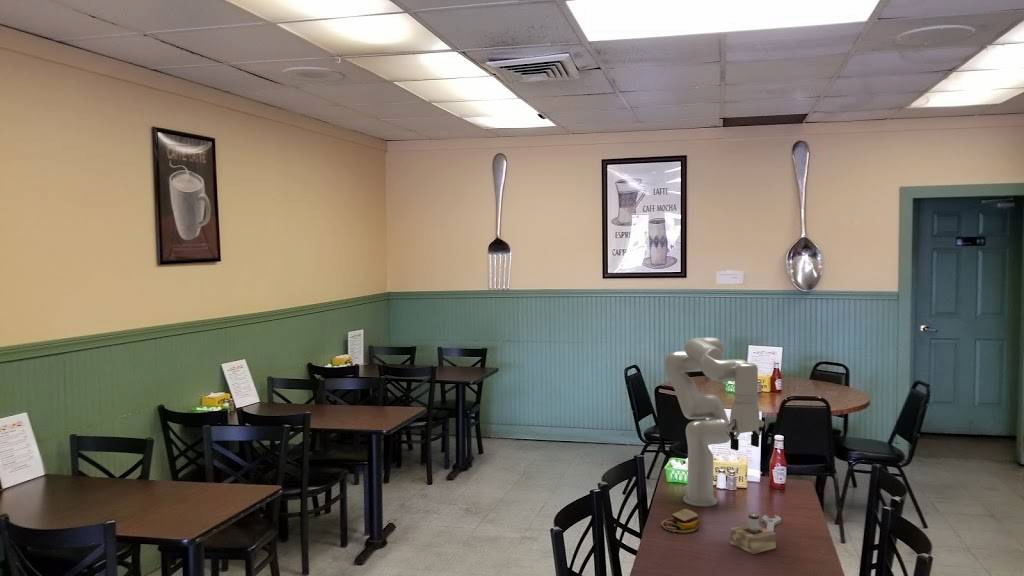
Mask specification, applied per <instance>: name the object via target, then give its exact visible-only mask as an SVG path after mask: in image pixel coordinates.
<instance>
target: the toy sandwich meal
mask: <svg viewBox="0 0 1024 576" xmlns="http://www.w3.org/2000/svg"><path fill="white" fill-rule="evenodd" d="M671 517H672V518H671ZM671 517H670V518H666V519H664V520H662V521H661V523H660V524H661V526H662V528H664V529H665V530H666V531H668V530H669V532H671V531H672V532H671V533H675V532H678V533H677V534H689V532H690V533H693V532H695V531H696V530H698V528H699V524H700V520H699V514H697V513H696V512H695V511H694V510H691V509H687V508H683V509H682V510H679V511H677V512H674V513H672V514H671Z"/></svg>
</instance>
